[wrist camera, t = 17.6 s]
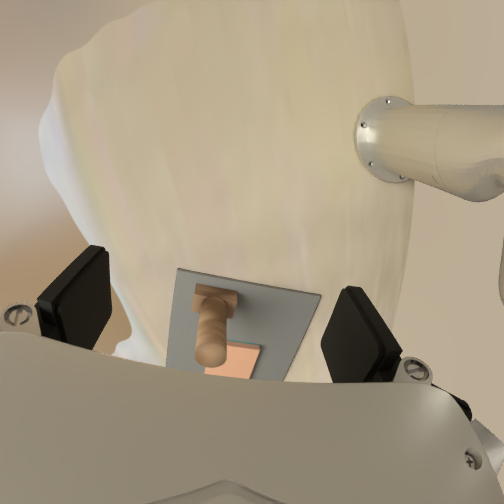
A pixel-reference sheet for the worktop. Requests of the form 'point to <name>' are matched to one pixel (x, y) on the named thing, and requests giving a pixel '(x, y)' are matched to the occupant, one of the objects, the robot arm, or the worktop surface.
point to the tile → (237, 360)
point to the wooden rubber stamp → (212, 323)
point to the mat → (242, 323)
